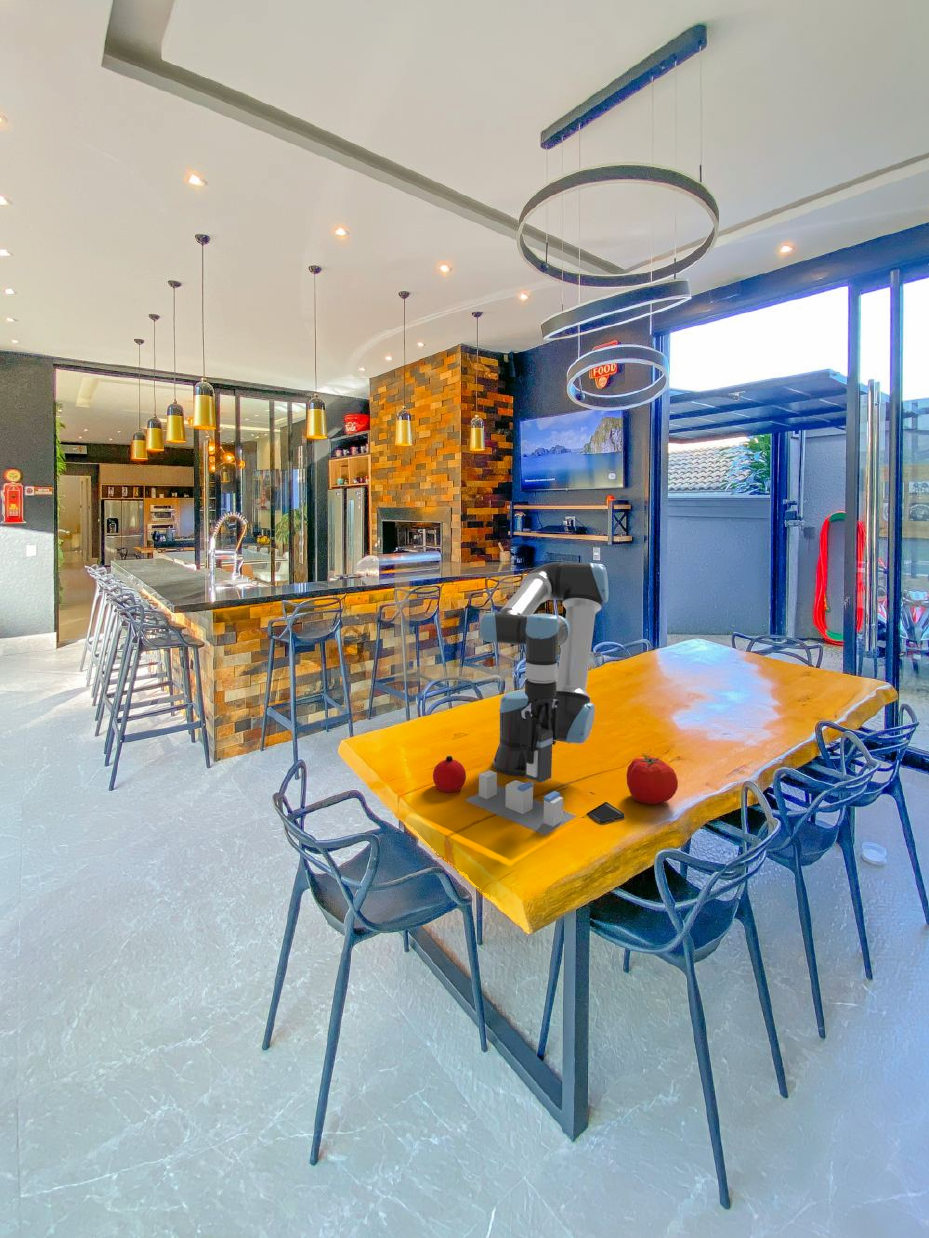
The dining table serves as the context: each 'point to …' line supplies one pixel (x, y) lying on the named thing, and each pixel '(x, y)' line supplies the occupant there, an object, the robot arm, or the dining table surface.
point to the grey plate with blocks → (520, 804)
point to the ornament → (449, 775)
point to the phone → (605, 813)
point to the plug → (543, 756)
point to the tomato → (651, 780)
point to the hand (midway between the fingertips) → (538, 772)
